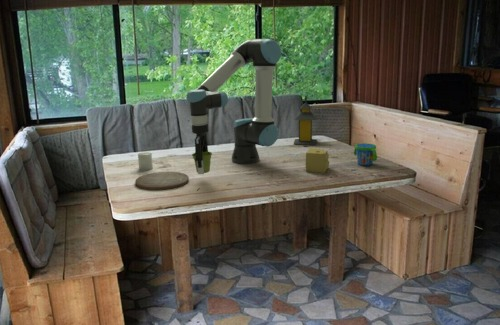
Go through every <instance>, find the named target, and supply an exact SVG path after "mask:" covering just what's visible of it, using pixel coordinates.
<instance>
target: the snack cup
mask: <svg viewBox="0 0 500 325" xmlns="http://www.w3.org/2000/svg"><path fill="white" fill-rule="evenodd" d="M354 145H355V146H354V150H353V154H354V156H356V161H357V165H360V166H371V165H373V163H374V162H376V161H377V159H378V156H377V155H378V154H377V151H376V149H377V145H375V144H373V143H357V144H354Z"/></svg>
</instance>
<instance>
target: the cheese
mask: <svg viewBox="0 0 500 325" xmlns="http://www.w3.org/2000/svg"><path fill="white" fill-rule="evenodd" d="M329 156H330V154H329V153H328V151H327V150H325V149H321V148H316V147H309V148H308V151H307V152H306V153H305V172H311V173H322V174H324V173H326V172H327V170H328V169H329V167H330V160H329Z"/></svg>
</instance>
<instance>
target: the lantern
mask: <svg viewBox="0 0 500 325" xmlns="http://www.w3.org/2000/svg"><path fill="white" fill-rule="evenodd" d="M307 100H308V95H304V103H303V104H302V105H301V106H300V108H299V109H300V111H299V113H297V115H296V116H295V117H294V121H295V120H296V121H298V138H295V139H294V141H293V145H294V146H317V142H318V139H316V138H313V121H316V120H317V119H318V118H317V116H316V114H315V113H314V112H312V111H311V109H312V106H311V105H310V104H309V103H308V101H307Z"/></svg>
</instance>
